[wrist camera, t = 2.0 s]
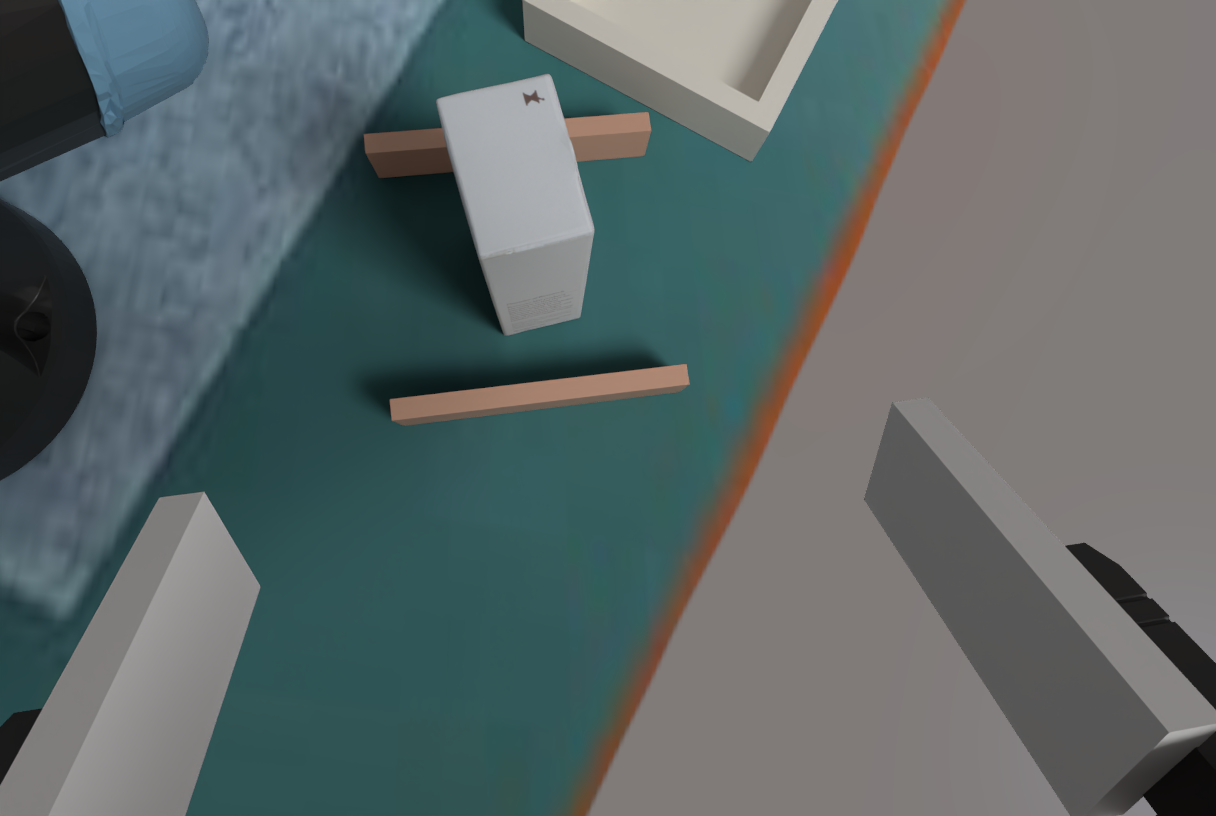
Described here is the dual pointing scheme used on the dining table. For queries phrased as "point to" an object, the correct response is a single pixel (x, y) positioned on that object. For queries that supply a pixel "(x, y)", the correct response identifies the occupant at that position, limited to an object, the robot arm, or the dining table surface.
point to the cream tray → (689, 56)
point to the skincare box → (521, 199)
